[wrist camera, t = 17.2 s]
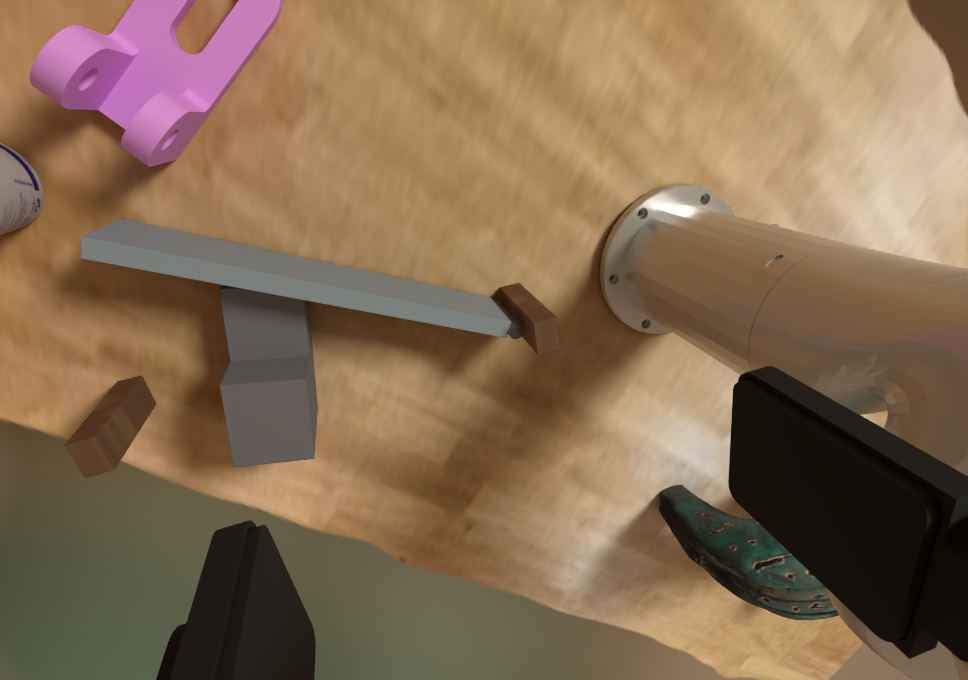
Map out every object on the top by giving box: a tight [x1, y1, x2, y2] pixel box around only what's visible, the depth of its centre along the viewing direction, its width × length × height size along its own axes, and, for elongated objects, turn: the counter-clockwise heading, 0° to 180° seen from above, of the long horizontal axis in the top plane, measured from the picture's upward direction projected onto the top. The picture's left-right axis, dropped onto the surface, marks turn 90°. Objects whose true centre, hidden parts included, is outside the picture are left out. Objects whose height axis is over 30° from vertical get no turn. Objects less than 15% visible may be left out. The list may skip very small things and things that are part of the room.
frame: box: [65, 283, 560, 478], centre depth 36 cm, size 30×2×8 cm, turn 99°
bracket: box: [30, 0, 283, 167], centre depth 27 cm, size 13×6×7 cm, turn 137°
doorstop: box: [219, 285, 318, 467], centre depth 35 cm, size 5×11×7 cm, turn 177°
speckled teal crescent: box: [660, 485, 839, 620], centre depth 48 cm, size 20×6×20 cm, turn 97°
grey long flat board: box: [81, 219, 523, 339], centre depth 34 cm, size 26×1×6 cm, turn 73°
